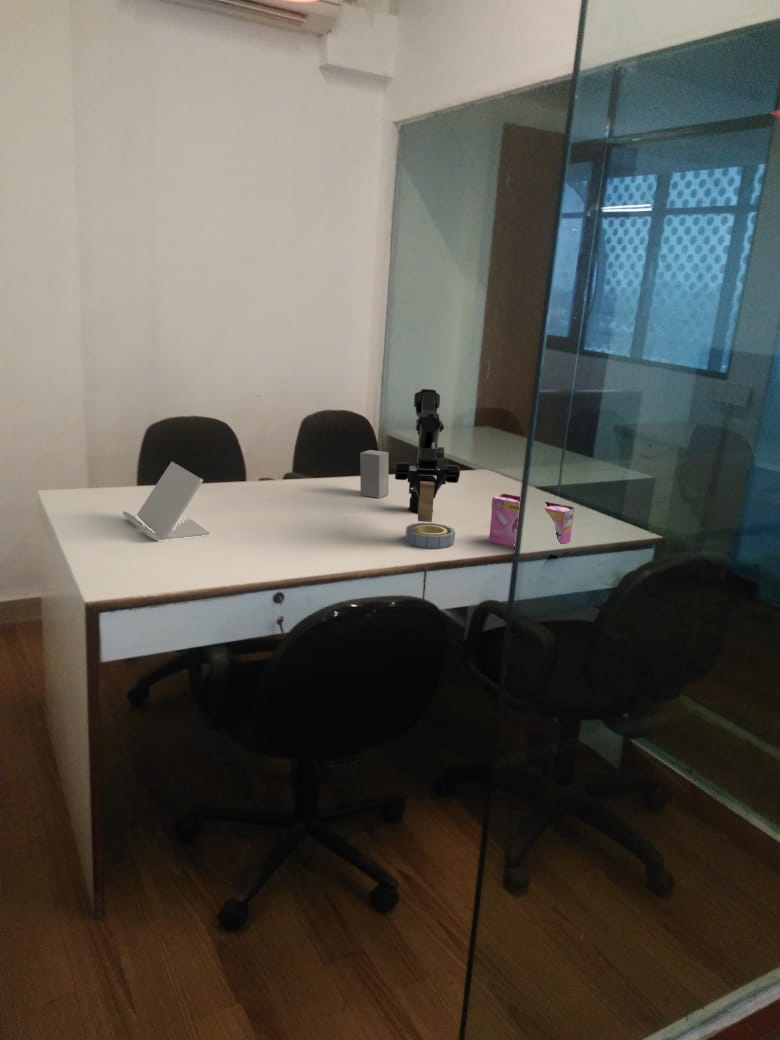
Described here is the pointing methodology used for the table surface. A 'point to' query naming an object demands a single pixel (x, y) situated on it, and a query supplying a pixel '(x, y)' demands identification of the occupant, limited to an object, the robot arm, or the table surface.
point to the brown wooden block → (426, 501)
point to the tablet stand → (169, 506)
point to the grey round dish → (430, 535)
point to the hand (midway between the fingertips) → (426, 497)
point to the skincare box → (374, 473)
